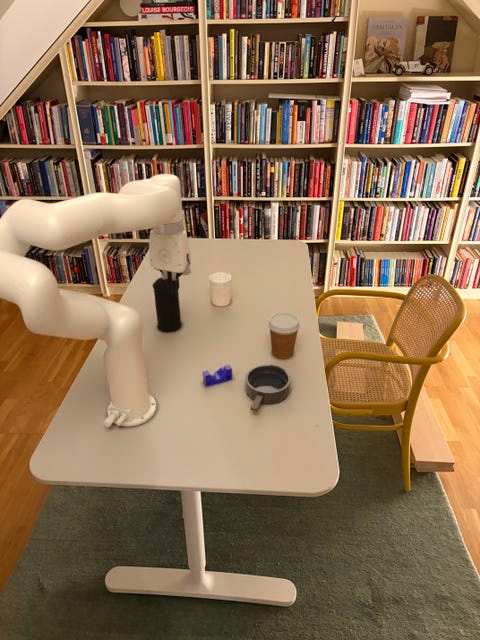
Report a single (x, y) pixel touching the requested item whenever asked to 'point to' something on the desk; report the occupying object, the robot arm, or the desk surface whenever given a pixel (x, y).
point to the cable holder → (217, 376)
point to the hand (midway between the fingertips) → (173, 291)
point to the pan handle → (257, 402)
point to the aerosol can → (166, 307)
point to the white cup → (220, 288)
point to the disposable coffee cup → (283, 334)
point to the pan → (268, 383)
